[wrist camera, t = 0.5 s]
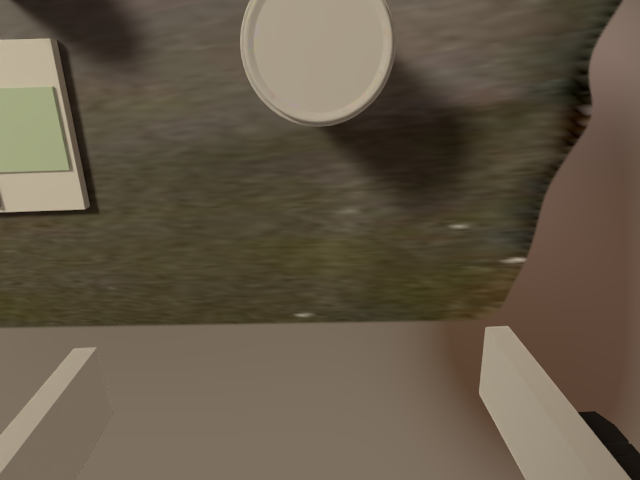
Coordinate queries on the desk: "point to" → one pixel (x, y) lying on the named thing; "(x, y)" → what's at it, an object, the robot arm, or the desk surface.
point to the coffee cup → (318, 56)
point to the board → (37, 131)
